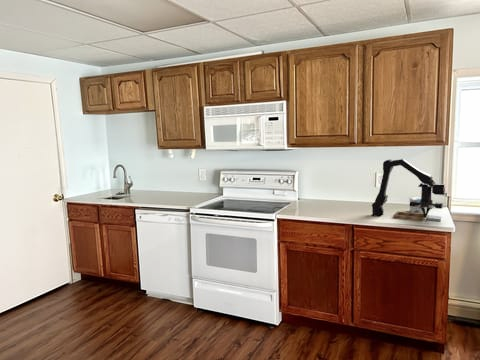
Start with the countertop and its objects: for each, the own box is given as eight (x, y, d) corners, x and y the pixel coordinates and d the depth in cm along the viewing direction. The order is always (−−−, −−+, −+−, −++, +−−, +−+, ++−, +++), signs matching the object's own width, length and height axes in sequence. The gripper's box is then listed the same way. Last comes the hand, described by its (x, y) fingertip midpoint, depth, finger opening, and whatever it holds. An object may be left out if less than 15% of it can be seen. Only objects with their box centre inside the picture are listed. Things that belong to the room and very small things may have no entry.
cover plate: (426, 222, 233) (426, 217, 232) (427, 219, 239) (427, 215, 239) (440, 223, 228) (440, 219, 228) (440, 220, 235) (441, 216, 235)
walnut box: (393, 219, 241) (393, 215, 241) (397, 215, 251) (397, 211, 251) (423, 222, 231) (423, 217, 231) (426, 218, 241) (426, 214, 240)
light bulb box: (423, 215, 250) (424, 199, 249) (413, 215, 251) (413, 199, 250) (419, 211, 261) (419, 196, 259) (409, 211, 262) (409, 196, 260)
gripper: (408, 195, 232) (407, 218, 234) (441, 197, 222) (440, 221, 224) (411, 192, 241) (410, 215, 243) (443, 194, 231) (442, 217, 233)
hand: (425, 217), depth 235 cm, fingers closed
